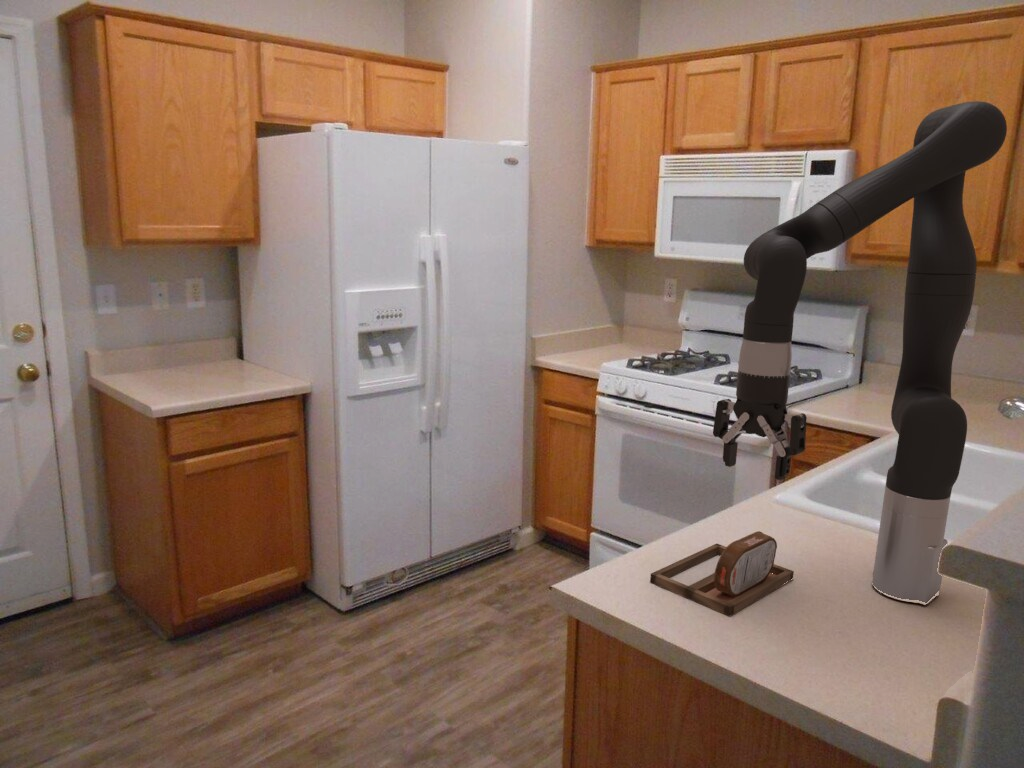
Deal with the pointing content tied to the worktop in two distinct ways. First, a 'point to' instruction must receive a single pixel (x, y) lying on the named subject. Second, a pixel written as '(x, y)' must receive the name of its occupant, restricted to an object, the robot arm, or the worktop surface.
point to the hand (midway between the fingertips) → (754, 472)
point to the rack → (706, 589)
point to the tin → (745, 563)
